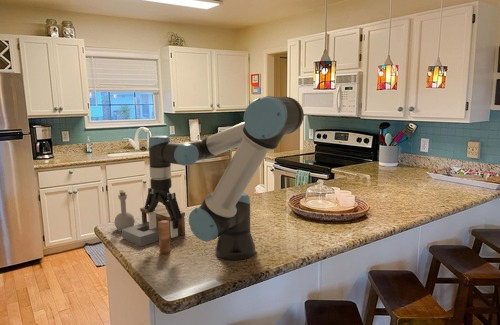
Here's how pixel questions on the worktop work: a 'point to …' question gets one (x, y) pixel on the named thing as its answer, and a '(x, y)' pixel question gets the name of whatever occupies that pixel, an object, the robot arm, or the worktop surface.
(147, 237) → the socket block
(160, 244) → the peg
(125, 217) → the potion bottle
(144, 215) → the wooden bench
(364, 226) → the worktop surface
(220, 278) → the worktop surface
